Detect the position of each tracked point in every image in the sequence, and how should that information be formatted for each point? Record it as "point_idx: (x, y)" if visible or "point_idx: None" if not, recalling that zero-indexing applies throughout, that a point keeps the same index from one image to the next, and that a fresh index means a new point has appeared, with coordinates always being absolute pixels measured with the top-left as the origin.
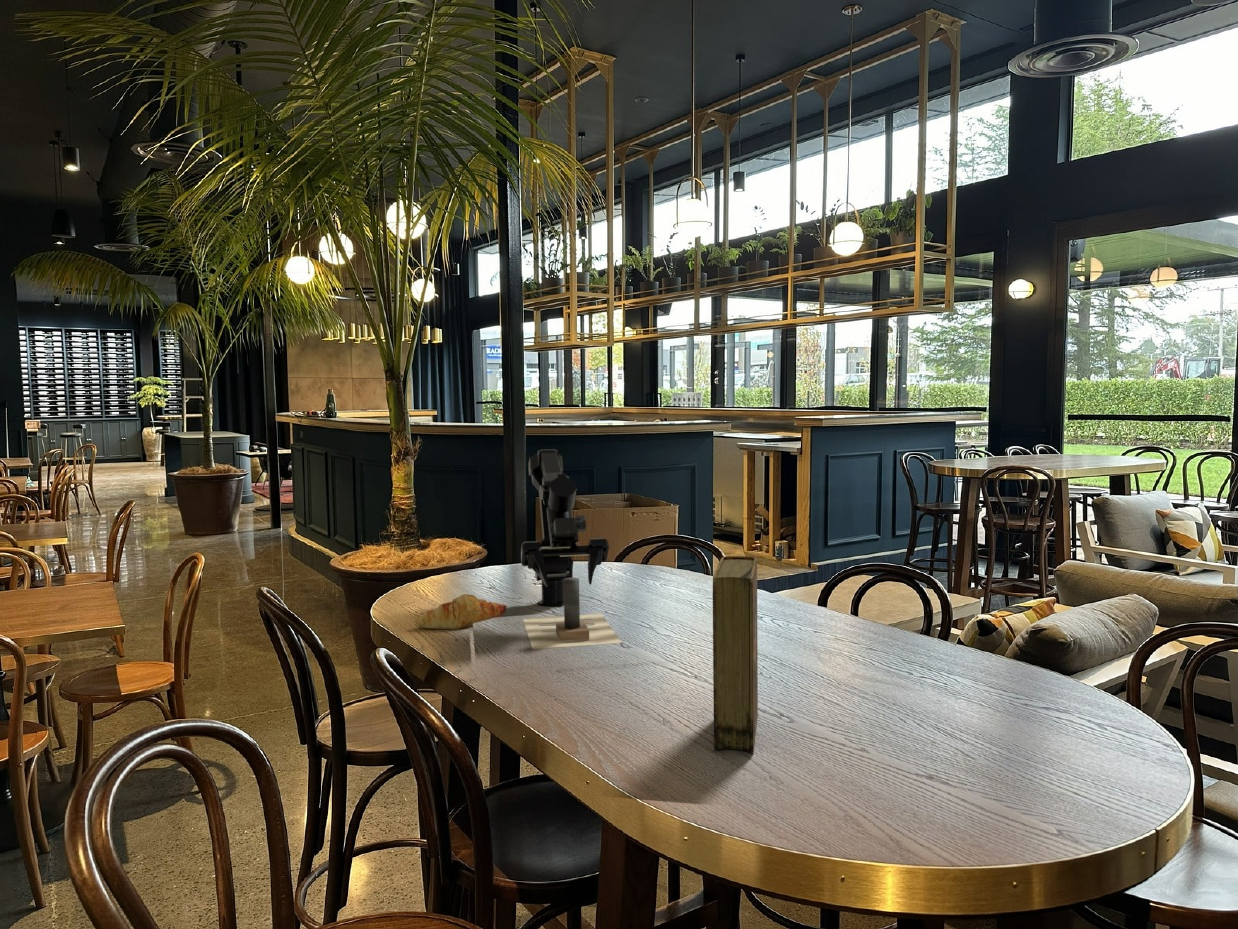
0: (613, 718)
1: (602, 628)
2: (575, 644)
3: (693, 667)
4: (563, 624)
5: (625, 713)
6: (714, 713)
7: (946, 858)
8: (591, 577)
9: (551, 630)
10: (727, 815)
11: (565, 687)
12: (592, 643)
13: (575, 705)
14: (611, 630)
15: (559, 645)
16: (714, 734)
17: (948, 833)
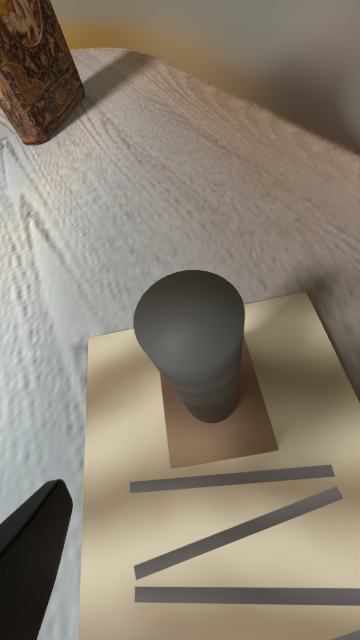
0: (152, 119)
1: (113, 497)
2: None
3: (13, 245)
4: (245, 432)
5: (138, 128)
6: (69, 52)
7: None
8: (24, 507)
9: (298, 491)
10: (105, 57)
11: (207, 168)
12: None
13: (191, 133)
14: (90, 463)
15: None
16: (78, 75)
17: None
